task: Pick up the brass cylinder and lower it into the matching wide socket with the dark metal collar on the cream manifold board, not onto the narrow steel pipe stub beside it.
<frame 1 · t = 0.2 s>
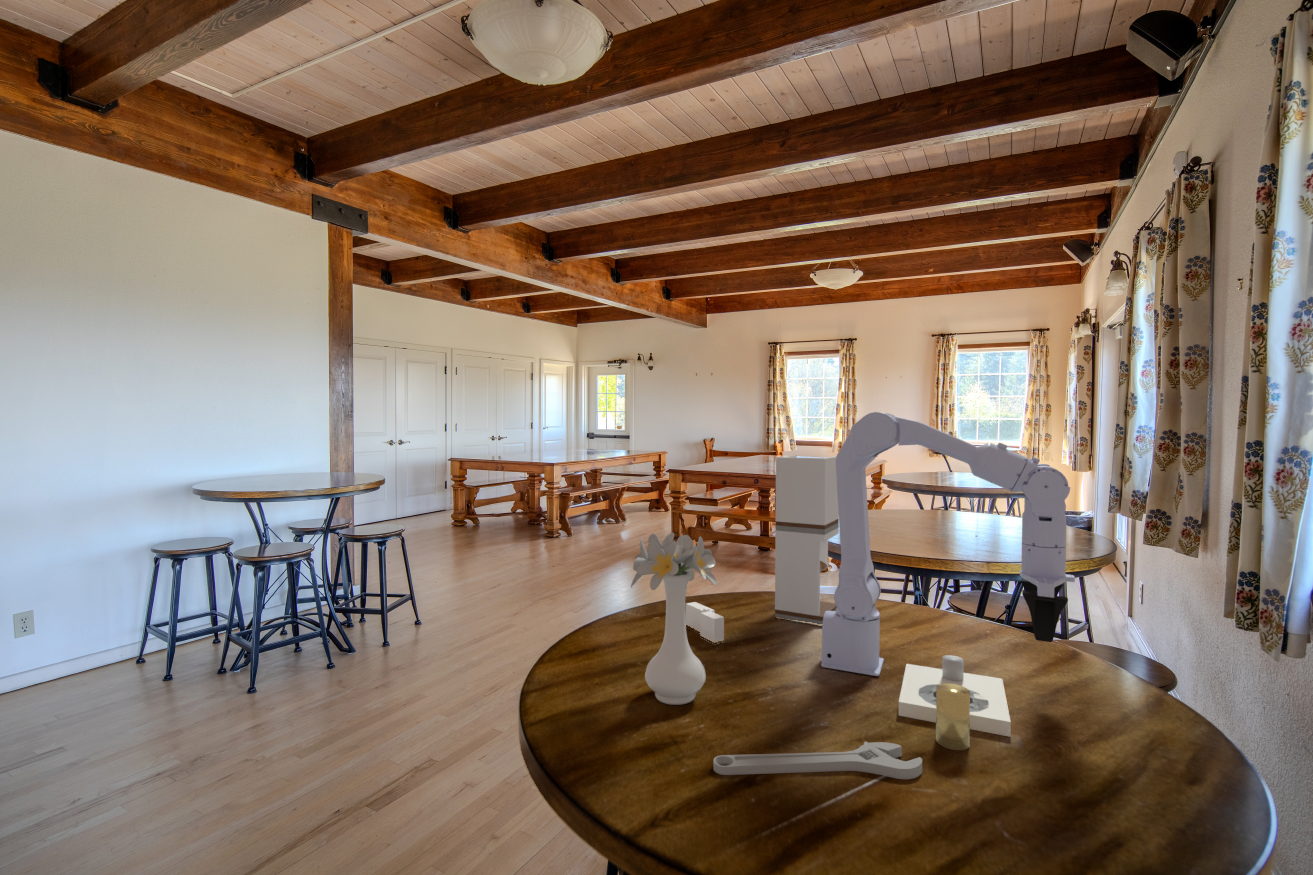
hand: (1042, 633, 95), 10 cm above the table, tool pointing down, fingers open, 7 cm apart
flower vase: (672, 695, 96), on the table
manifold board: (952, 702, 93), on the table
napkin holder: (703, 638, 123), on the table
adjustable wrench: (816, 768, 76), on the table
brass cylinder: (952, 742, 81), on the table
white stacked column: (806, 616, 136), on the table
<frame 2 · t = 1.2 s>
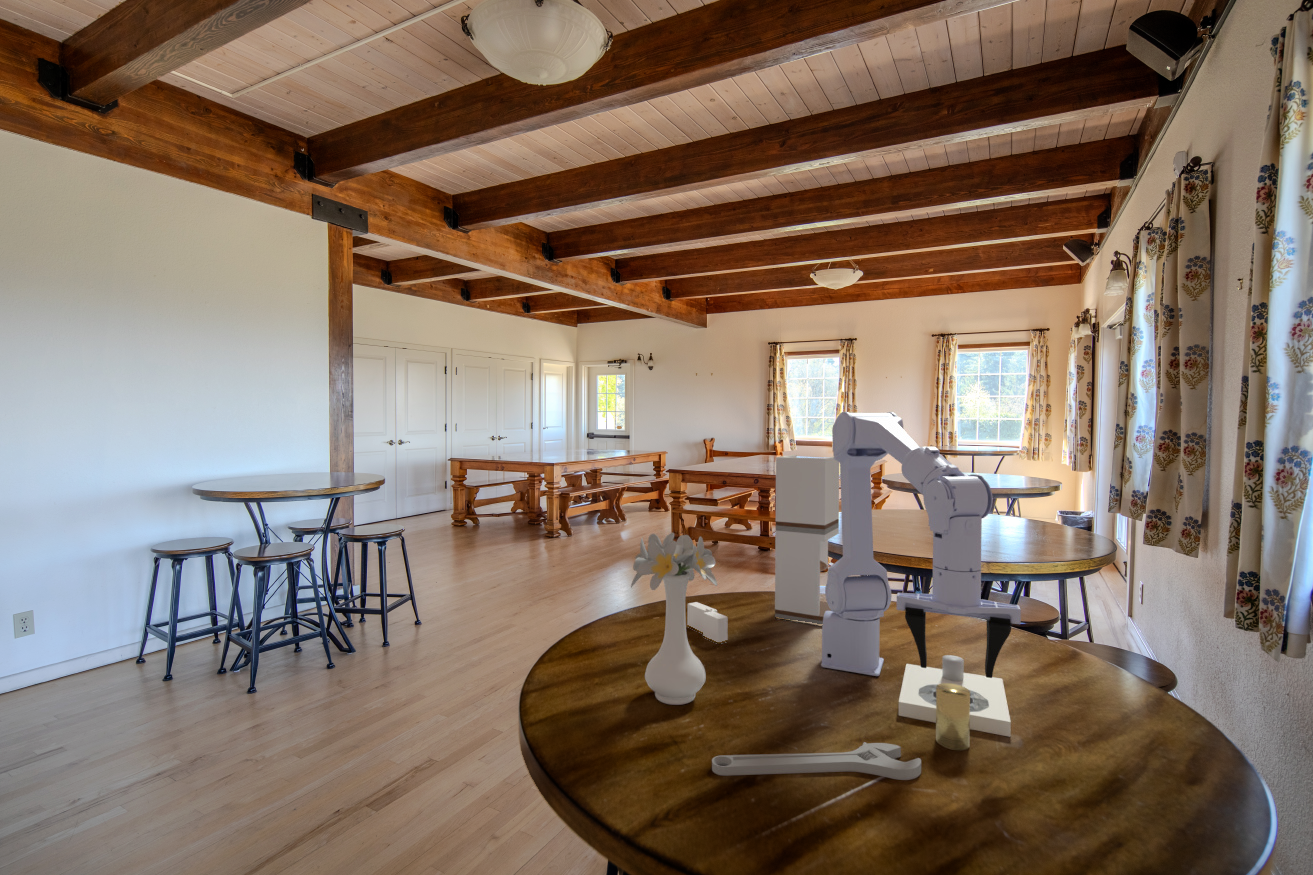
hand: (955, 669, 81), 9 cm above the table, tool pointing down, fingers open, 7 cm apart
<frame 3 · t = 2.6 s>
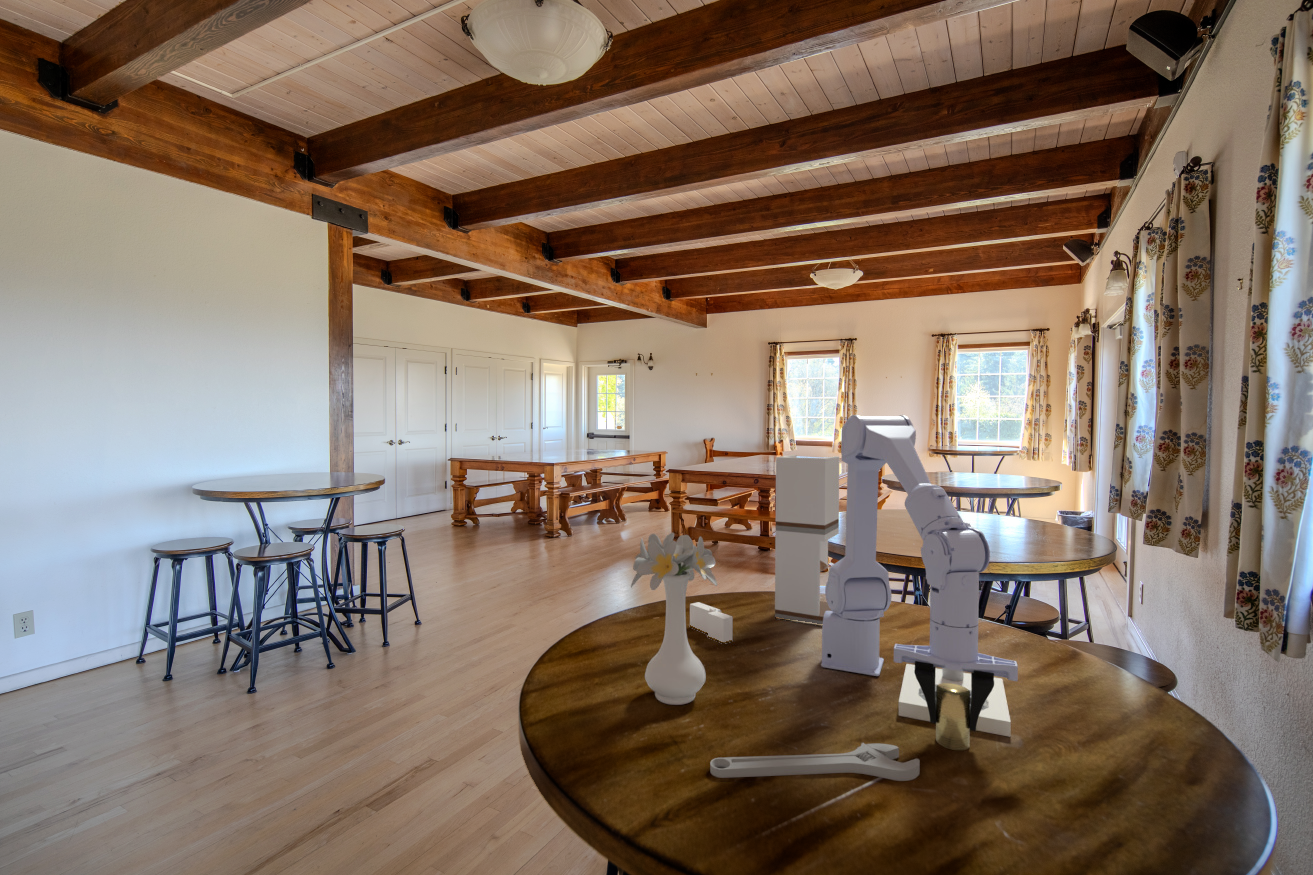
hand: (952, 723, 81), 2 cm above the table, tool pointing down, fingers closed on brass cylinder, 4 cm apart
brass cylinder: (952, 742, 81), on the table, touching gripper
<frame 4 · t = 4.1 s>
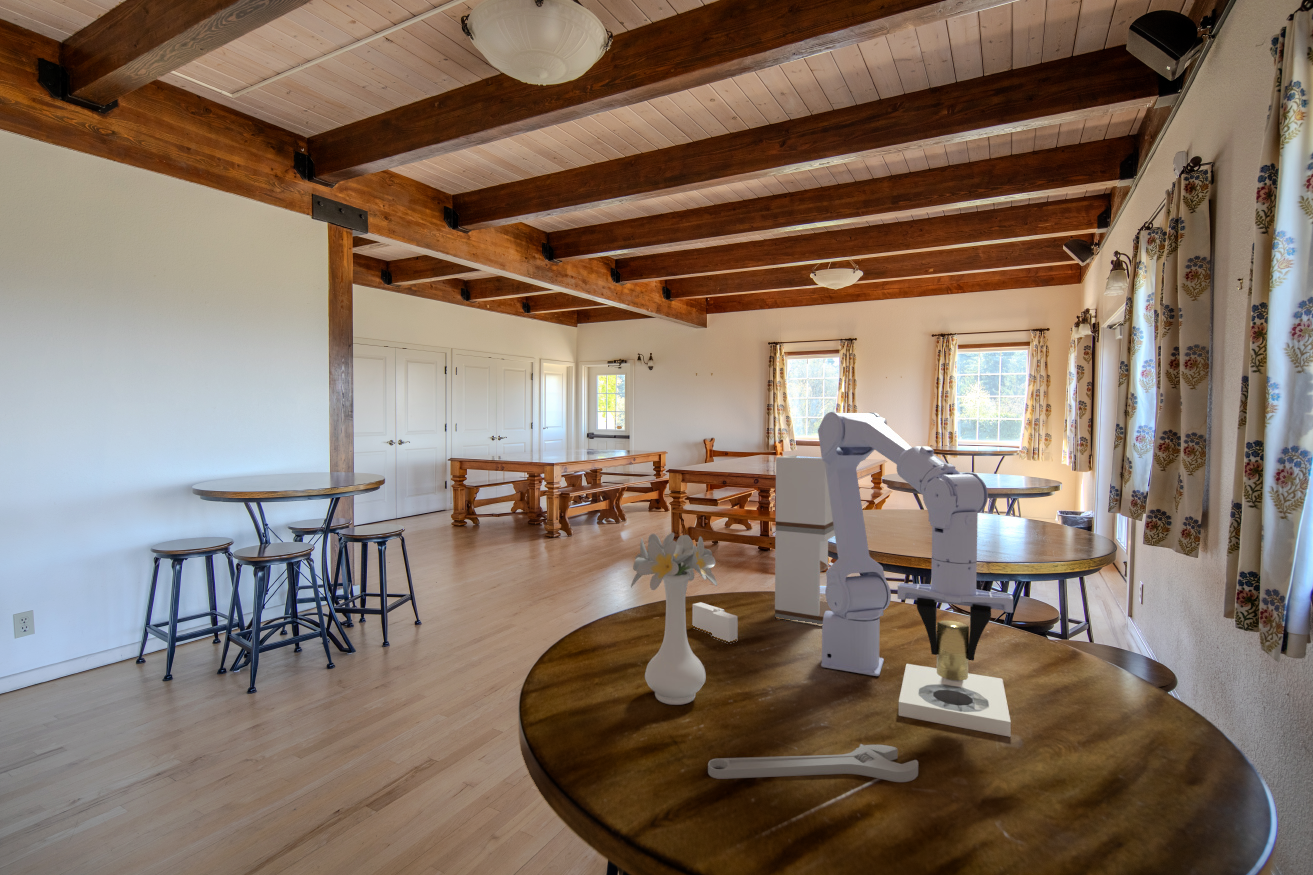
hand: (952, 655, 87), 9 cm above the table, tool pointing down, fingers closed on brass cylinder, 4 cm apart
brass cylinder: (952, 674, 87), point 7 cm above the table, touching gripper
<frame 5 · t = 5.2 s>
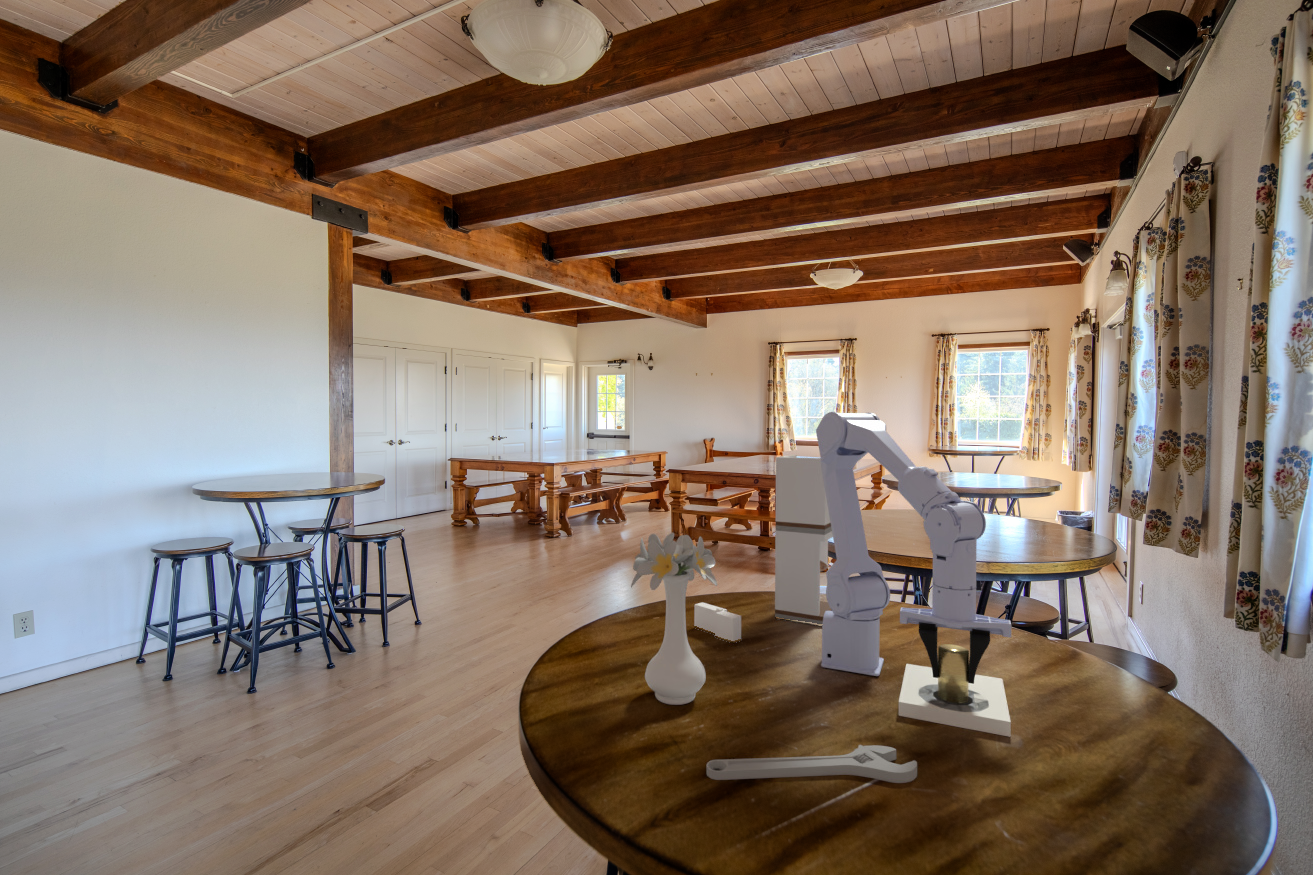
hand: (953, 677, 90), 5 cm above the table, tool pointing down, fingers closed on brass cylinder, 4 cm apart
brass cylinder: (952, 696, 90), point 2 cm above the table, touching gripper
when the fingers open (3 cm above the table, at t = 5.9 s): brass cylinder stays where it is, resting in manifold board.
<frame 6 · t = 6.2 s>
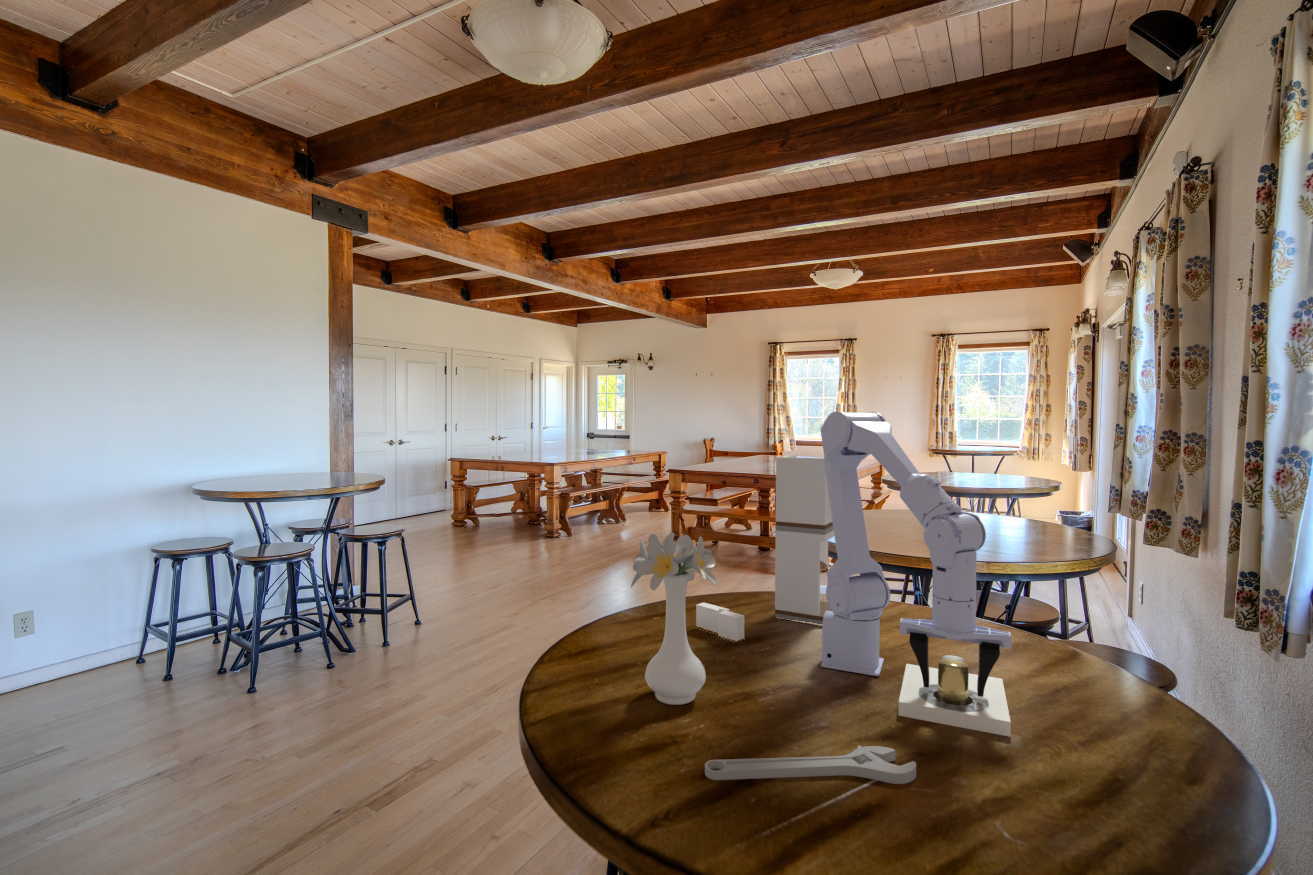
hand: (952, 689, 90), 3 cm above the table, tool pointing down, fingers open, 6 cm apart
brass cylinder: (952, 711, 90), resting in manifold board
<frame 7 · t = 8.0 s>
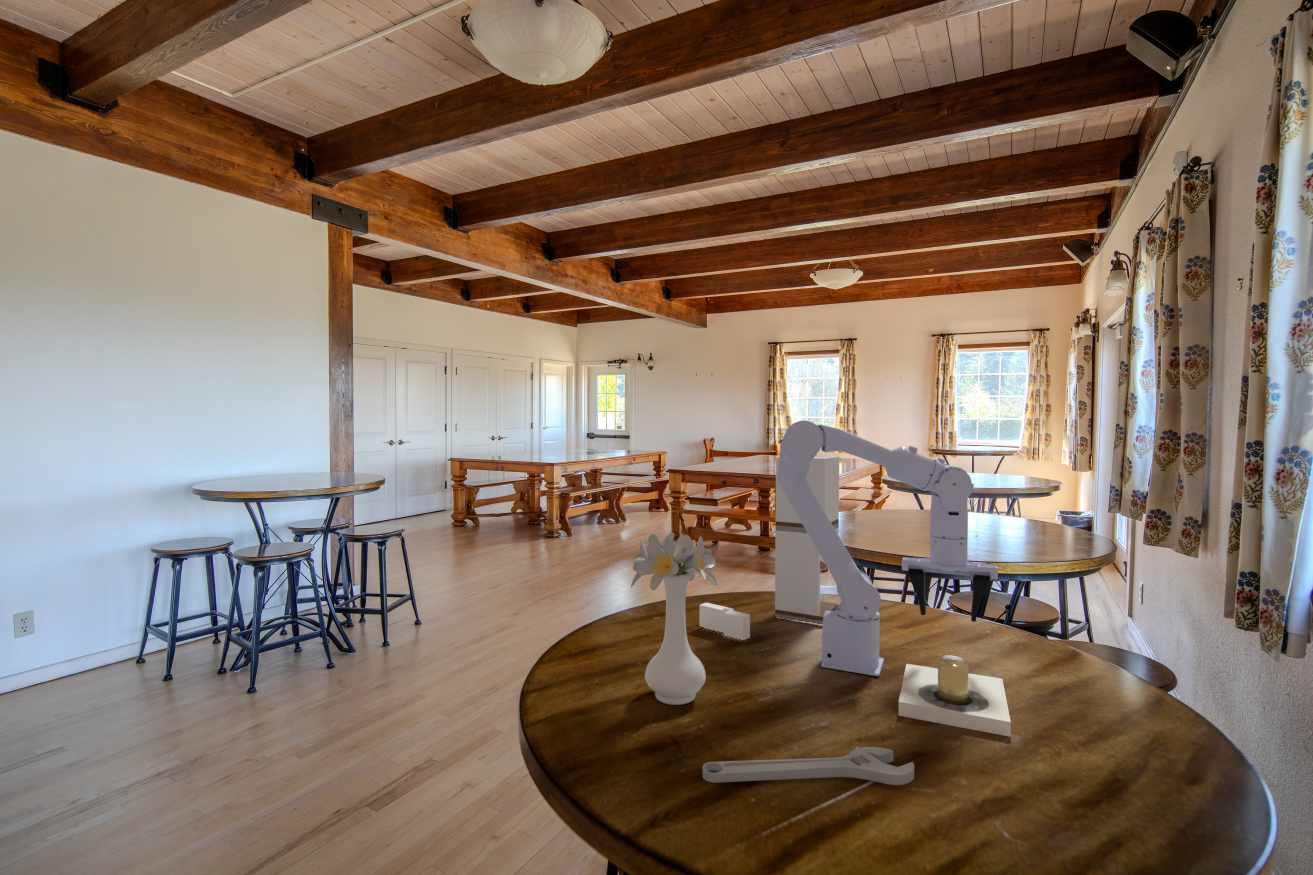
hand: (948, 616, 105), 9 cm above the table, tool pointing down, fingers open, 7 cm apart
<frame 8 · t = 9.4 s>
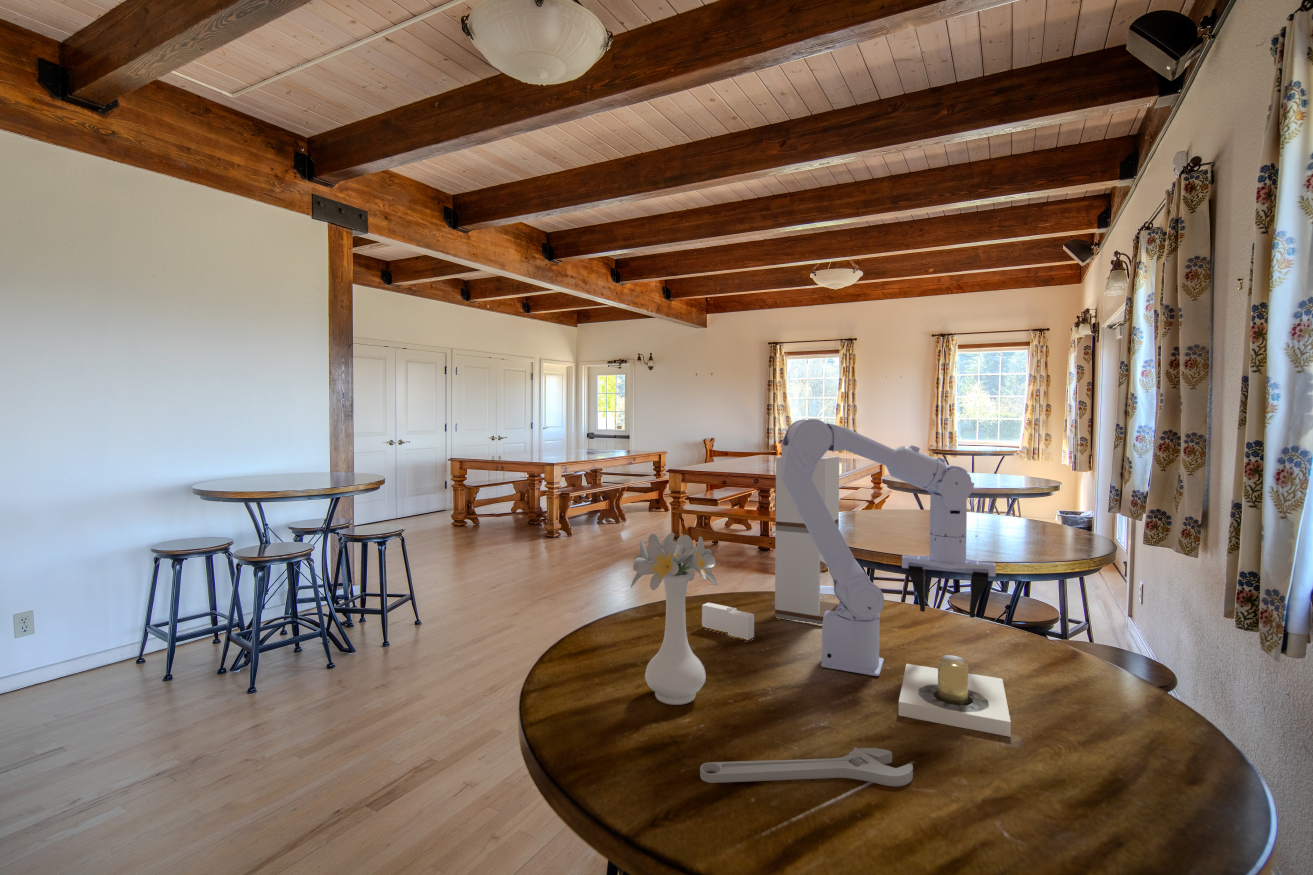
hand: (947, 612, 107), 9 cm above the table, tool pointing down, fingers open, 7 cm apart
at the end: brass cylinder 0.2 cm from the target spot on the manifold board, point 0.0 cm above the manifold board's base; brass cylinder tilted 0°; the gripper is holding nothing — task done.
